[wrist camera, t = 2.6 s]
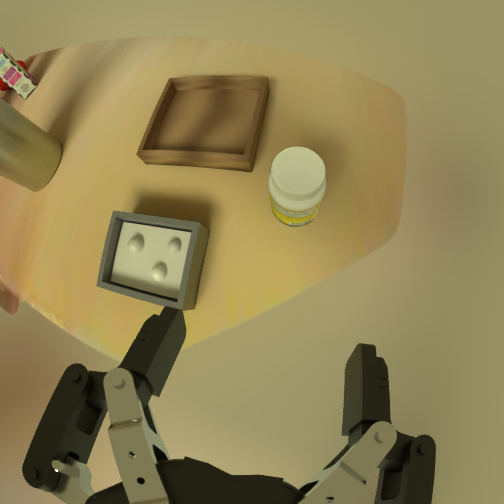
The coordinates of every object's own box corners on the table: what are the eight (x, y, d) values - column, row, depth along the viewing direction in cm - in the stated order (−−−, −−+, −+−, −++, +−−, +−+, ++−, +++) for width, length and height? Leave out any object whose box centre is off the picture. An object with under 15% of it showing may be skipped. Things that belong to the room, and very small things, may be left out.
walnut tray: (146, 164, 30) (136, 154, 27) (175, 90, 31) (169, 78, 29) (251, 172, 28) (248, 161, 25) (269, 91, 30) (268, 77, 27)
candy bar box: (38, 85, 39) (2, 51, 23) (25, 100, 39) (-13, 69, 23) (33, 75, 41) (1, 45, 25) (21, 89, 41) (-12, 61, 25)
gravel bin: (114, 287, 28) (96, 286, 24) (129, 219, 29) (113, 210, 25) (194, 309, 26) (182, 310, 23) (210, 231, 27) (200, 222, 24)
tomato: (19, 84, 42) (7, 74, 35) (2, 97, 43) (-9, 88, 37) (33, 62, 43) (22, 52, 37) (15, 75, 45) (4, 66, 38)
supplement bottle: (288, 175, 28) (290, 131, 19) (326, 200, 27) (343, 162, 18) (261, 211, 27) (252, 176, 19) (300, 237, 26) (308, 212, 18)
